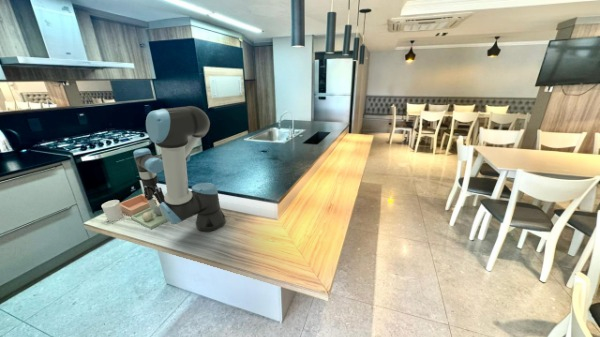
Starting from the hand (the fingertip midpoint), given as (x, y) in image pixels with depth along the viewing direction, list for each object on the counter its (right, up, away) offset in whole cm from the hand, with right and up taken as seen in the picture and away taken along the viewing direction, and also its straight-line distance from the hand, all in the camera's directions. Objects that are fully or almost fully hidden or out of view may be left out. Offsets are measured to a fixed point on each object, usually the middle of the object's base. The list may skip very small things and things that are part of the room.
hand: (159, 211), depth 133 cm
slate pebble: (0, -2, +1) cm, 2 cm away
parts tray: (-2, -3, -2) cm, 4 cm away
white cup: (-23, -4, -2) cm, 24 cm away
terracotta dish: (-17, 0, +7) cm, 18 cm away
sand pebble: (-3, -4, -5) cm, 7 cm away
